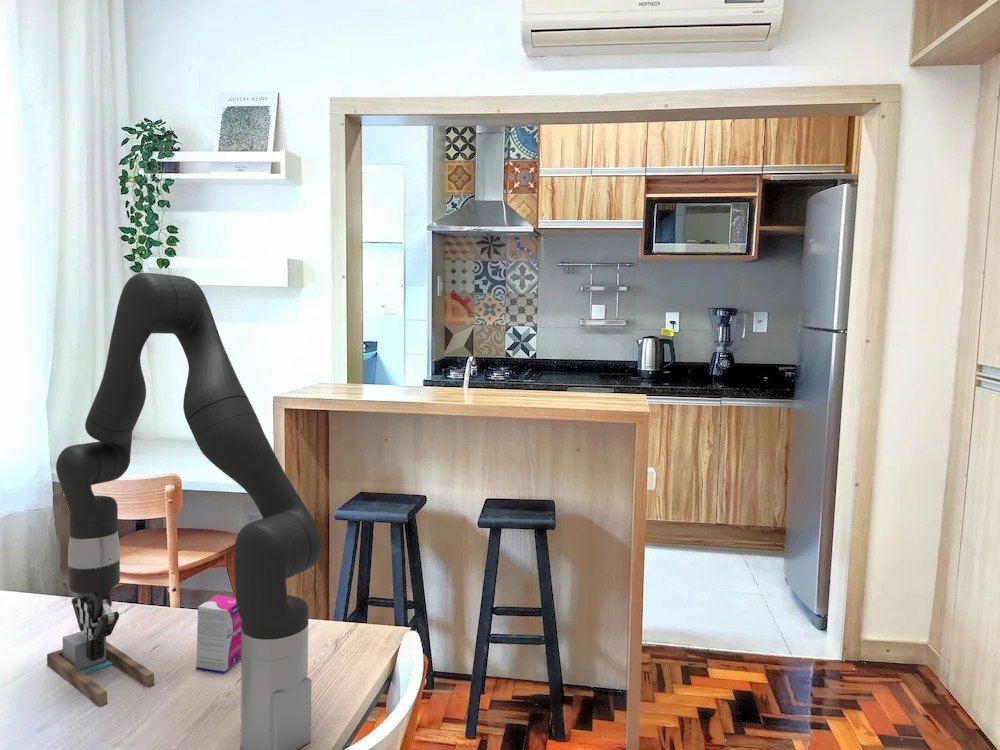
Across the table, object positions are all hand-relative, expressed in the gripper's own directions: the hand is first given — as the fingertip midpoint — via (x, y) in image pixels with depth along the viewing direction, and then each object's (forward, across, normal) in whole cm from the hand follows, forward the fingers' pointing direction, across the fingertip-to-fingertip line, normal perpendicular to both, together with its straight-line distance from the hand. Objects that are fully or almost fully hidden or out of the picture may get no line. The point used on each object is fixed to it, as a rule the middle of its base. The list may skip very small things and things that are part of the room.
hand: (95, 658), depth 117 cm
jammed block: (+3, +4, 0) cm, 5 cm away
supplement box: (+3, -13, -15) cm, 20 cm away
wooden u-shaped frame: (+3, -1, 0) cm, 3 cm away
